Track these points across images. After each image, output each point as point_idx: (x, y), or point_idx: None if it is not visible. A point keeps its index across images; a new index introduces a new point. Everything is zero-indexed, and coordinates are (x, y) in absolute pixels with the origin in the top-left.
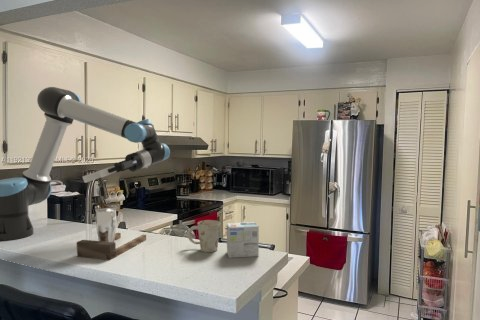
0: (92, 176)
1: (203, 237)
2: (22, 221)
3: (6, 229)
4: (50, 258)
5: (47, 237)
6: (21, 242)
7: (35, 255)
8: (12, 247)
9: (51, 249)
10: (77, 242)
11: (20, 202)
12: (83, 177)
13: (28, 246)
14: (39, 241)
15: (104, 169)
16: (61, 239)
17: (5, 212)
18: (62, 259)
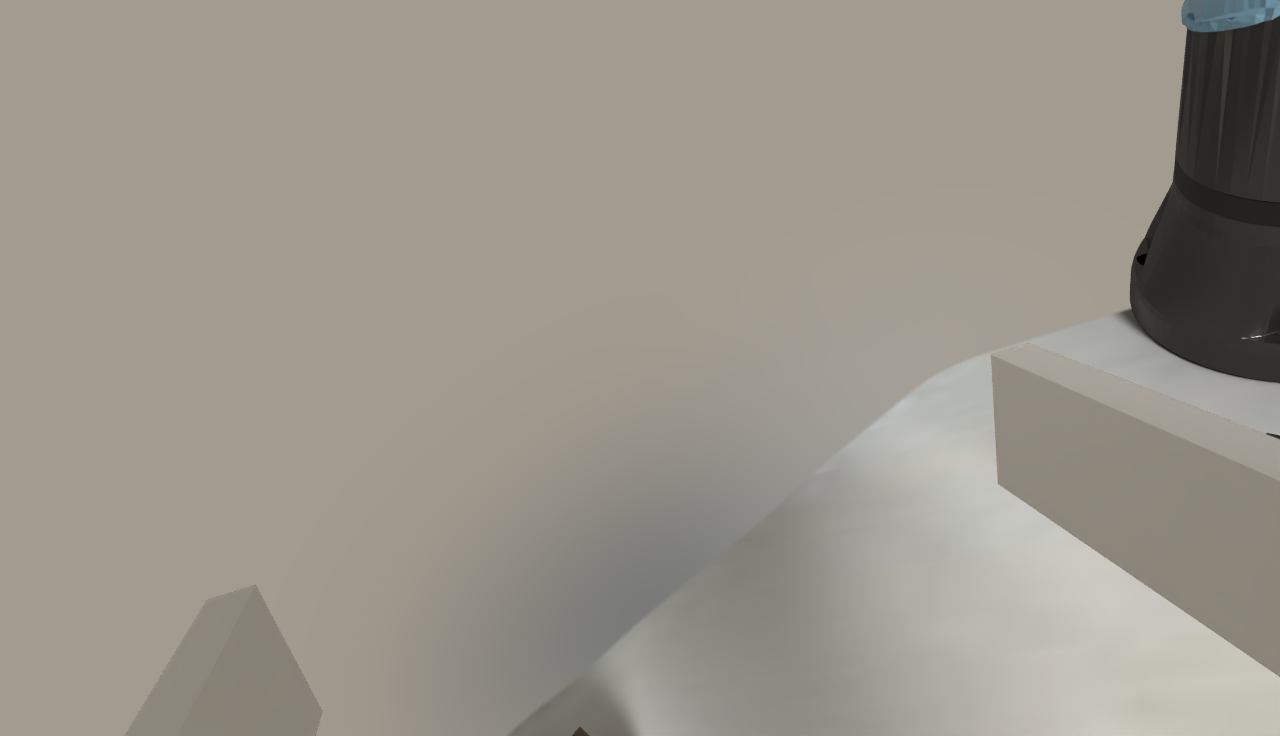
0: (1167, 516)
1: None
2: (1250, 266)
3: (1149, 257)
4: (663, 615)
5: None
6: None
7: (753, 533)
8: (957, 390)
9: (847, 591)
10: (577, 732)
11: (1268, 118)
12: (995, 379)
13: (959, 454)
14: None
15: (145, 728)
16: (1139, 616)
17: (1177, 147)
18: (612, 681)
